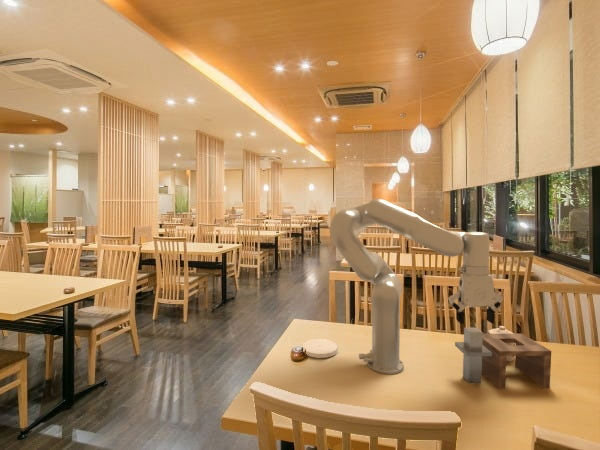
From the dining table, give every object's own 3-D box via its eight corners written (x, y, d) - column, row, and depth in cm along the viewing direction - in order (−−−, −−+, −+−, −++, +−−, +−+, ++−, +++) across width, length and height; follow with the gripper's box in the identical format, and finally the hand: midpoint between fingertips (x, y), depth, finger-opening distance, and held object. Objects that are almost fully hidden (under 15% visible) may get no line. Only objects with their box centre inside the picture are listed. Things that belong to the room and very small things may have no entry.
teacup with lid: (518, 363, 122) (520, 332, 121) (490, 360, 124) (491, 329, 123) (508, 349, 133) (509, 321, 132) (483, 347, 136) (483, 318, 135)
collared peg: (465, 386, 107) (467, 334, 106) (454, 373, 115) (455, 325, 114) (490, 386, 107) (492, 334, 106) (477, 373, 115) (479, 325, 114)
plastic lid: (336, 361, 125) (336, 355, 124) (299, 359, 127) (299, 352, 127) (338, 345, 138) (338, 339, 138) (305, 343, 141) (305, 337, 141)
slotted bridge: (498, 388, 106) (500, 351, 105) (475, 366, 120) (476, 333, 119) (549, 388, 106) (551, 351, 105) (520, 366, 120) (521, 333, 119)
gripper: (454, 273, 104) (454, 327, 105) (509, 272, 104) (509, 325, 105) (443, 268, 112) (443, 319, 113) (495, 267, 112) (495, 317, 113)
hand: (475, 322), depth 109 cm, fingers open, 9 cm apart
